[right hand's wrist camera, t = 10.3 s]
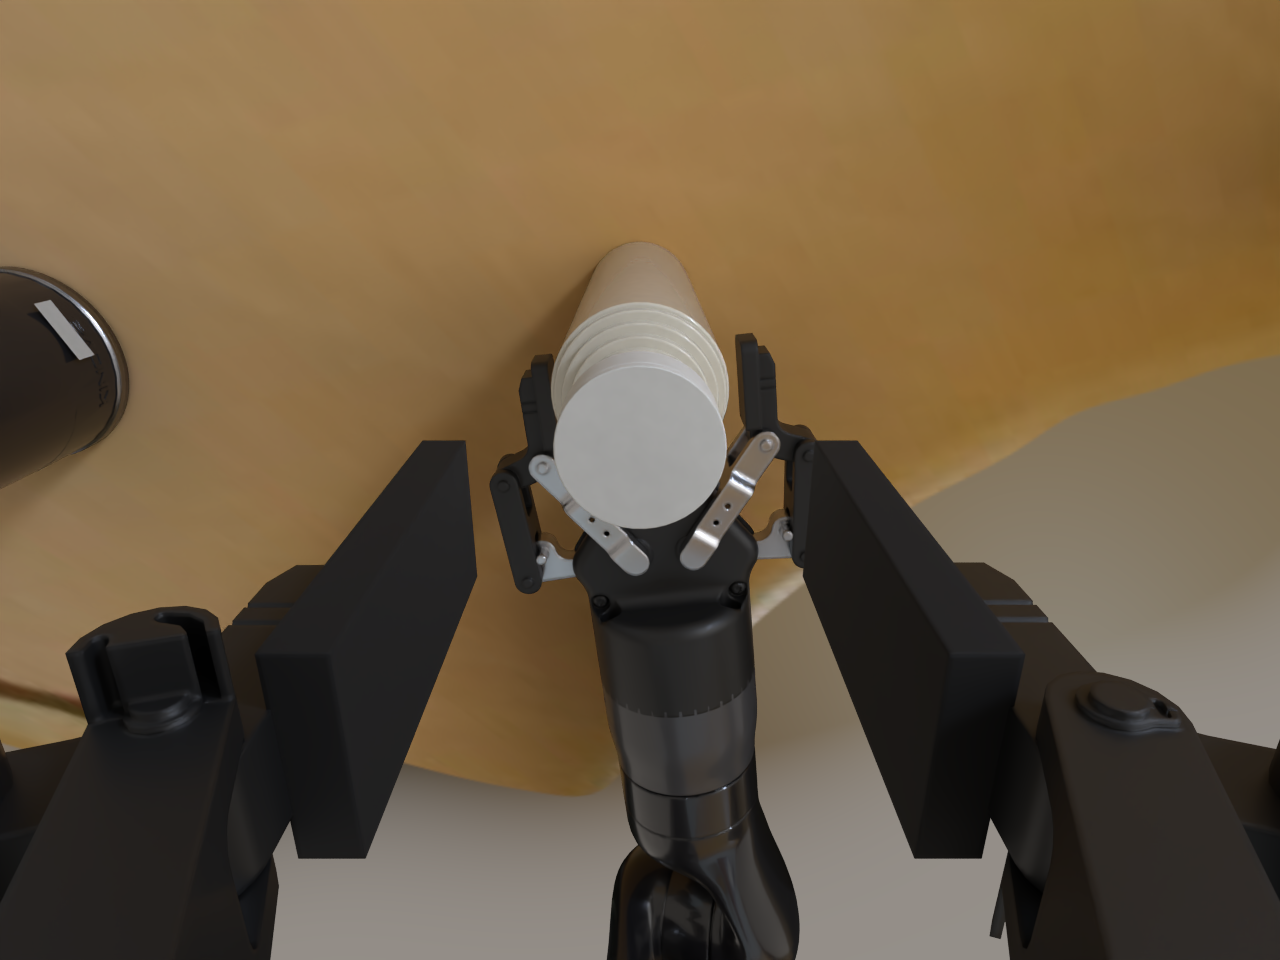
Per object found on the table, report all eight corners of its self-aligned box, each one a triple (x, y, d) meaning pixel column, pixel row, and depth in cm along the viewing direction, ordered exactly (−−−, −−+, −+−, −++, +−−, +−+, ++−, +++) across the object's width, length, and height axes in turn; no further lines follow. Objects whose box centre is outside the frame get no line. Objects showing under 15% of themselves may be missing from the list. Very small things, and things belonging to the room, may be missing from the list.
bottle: (678, 354, 39) (720, 560, 19) (580, 333, 39) (515, 522, 18) (701, 253, 37) (775, 361, 17) (599, 231, 37) (549, 314, 17)
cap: (699, 516, 20) (704, 543, 18) (547, 487, 19) (540, 512, 18) (737, 368, 18) (746, 385, 17) (574, 334, 18) (569, 349, 16)
